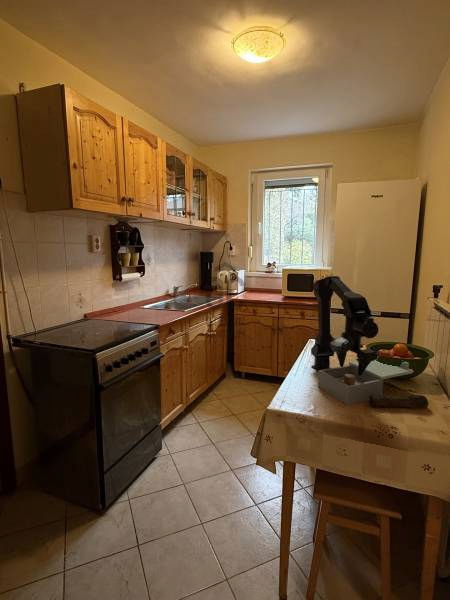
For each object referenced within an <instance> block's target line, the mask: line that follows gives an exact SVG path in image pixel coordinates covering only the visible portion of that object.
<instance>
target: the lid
mask: <svg viewBox="0 0 450 600" xmlns="http://www.w3.org/2000/svg"><path fill="white" fill-rule="evenodd" d="M348 365H352V366H354V367H356V368H358V361H357V360H353V361H349V362H348ZM409 366H410V363H409V361H408V362H407V361H405V362H402V363H401V365H400V367H399V366H392V365H387V364H383V363H380V362H378V361H376V360H374V361H371V362H370V364H369V365H368V366H367V368H366V369H365V371H364V372H366V373H369V374H371V375H373V376H375V377H377V378H379V379H381V380H382V379H383V380H386V379H390V378H395V377H400V376H405V375H409V374H414V370H413V369H412V368H411V369H410V368H409Z"/></svg>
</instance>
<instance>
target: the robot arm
mask: <svg viewBox="0 0 450 600" xmlns="http://www.w3.org/2000/svg"><path fill="white" fill-rule="evenodd" d="M312 289H313V295H314V297H315V298H316V300H317V312H318V314H317V315H318V317H317V318H318V319H317V320H318V321H317V322H318V334H317V335H316V337H315V339H314V345H313V346H311V348H310V354H311V355H312V357H314V364H313V365H311V368H313V369H315V370H317V371H318V372H319V370H324V369H329V368H331V366H330V365H331V358H330V357H334V356H335V354H336V357H337V359H338V364H339V367H343V366H345V362H346V357H347V353H348V352H352V353H355V354H356V357H357V358H356V359H355V361H358V376H361V375H362V374H363V372H364V371H365V369H366V368H367V366H368V365H369V364H370V362H371V361H374V360H377V359H378V357H379V354H378V352H377V351H375V350H372V349H369V348H366V349H362V348H364V344H362V338H367V339H373V338H375V337H377V335H378V333H379V326H378V324H377V322H375V319H374V318H373V317H372V316H373V315H372V310H371V308H370V306H369V304H368V303H369V302H368V301H367V298H366V297H365V296H363V295H361V294H360V293H357V292H354V291H353V290H351V289H350V287H349V286H347V285H346V283H344V282H343V280H341V277H340V276H338V275H328V276H325V277H324V278H321V279H318V280H315V281H314V282H313V283H312ZM334 294H335V295H336V296H337V297H338V298H339V299H340V300H341V306H342V308H343V310H344V311H345V312H344V313H343V314H342V315H343V317H345V322H344V323H345V324H344V332H341V336H339V337H338V338H335V337H333V335H332V334H331V308H330V307H331V306H330V305H331V303H330V301H331V299H332V297H333V295H334Z"/></svg>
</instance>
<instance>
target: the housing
mask: <svg viewBox="0 0 450 600" xmlns="http://www.w3.org/2000/svg"><path fill="white" fill-rule="evenodd" d="M345 374H351V375H354V376H355V385H350V386H349V385H347V384H345V383H344V375H345ZM317 377H318V379H317V387H318V388H320V389H321V390H323V391H324V392H327V394H329V395H331V396H333V397H334V398H336V399H337V400H339V401H341V402H342V403H344V404H345V405H347V406H350V405H353V404H358V403H361V402H365V401H369V397H370V395H372V396H383V388H384V379H382V380H381V379H379V378H377V377H375V376H373V375H371V374H369V373H366V372H363V374H362V375H361V376H358V368H356V367H354V366H352V365H349V364H347V365H346V364H345V365H343V367H340V366H336V367H330V368H329V369H324V370H319V371H318V374H317Z"/></svg>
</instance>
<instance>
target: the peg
mask: <svg viewBox="0 0 450 600" xmlns="http://www.w3.org/2000/svg"><path fill="white" fill-rule="evenodd" d="M344 383H345V384H347V385H349V386H350V385H355V376H354V375H351V374H345V375H344Z"/></svg>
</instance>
